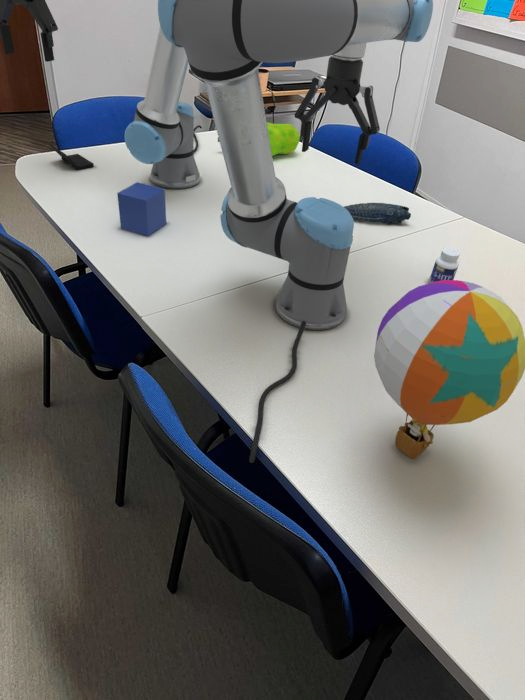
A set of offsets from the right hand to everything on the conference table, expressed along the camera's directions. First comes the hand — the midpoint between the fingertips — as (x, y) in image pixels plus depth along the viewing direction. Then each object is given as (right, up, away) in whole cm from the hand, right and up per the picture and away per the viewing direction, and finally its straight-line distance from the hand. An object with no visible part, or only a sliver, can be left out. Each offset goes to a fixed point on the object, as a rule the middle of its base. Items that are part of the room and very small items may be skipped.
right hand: (331, 156), depth 126 cm
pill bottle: (+26, -31, 0) cm, 41 cm away
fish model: (+16, -9, +27) cm, 32 cm away
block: (-48, -14, +13) cm, 52 cm away
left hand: (-80, +33, +16) cm, 88 cm away
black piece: (-78, +14, +43) cm, 90 cm away
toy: (+7, -63, -42) cm, 76 cm away
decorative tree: (-18, +25, +65) cm, 72 cm away
